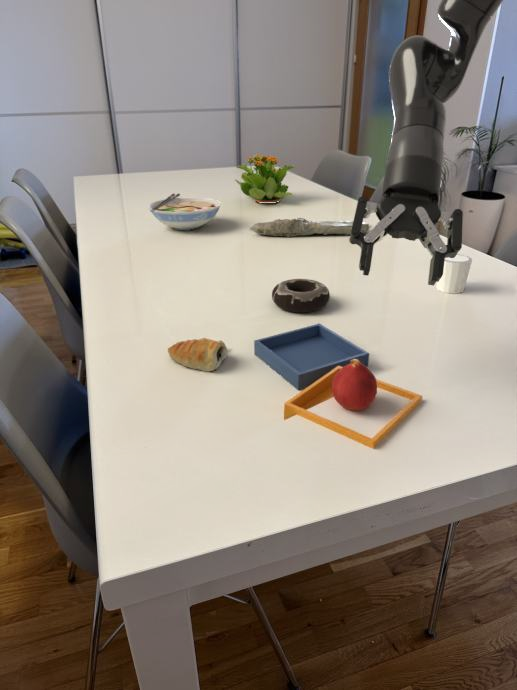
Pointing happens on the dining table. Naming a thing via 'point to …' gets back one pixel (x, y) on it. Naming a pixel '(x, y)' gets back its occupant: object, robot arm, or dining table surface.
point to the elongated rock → (305, 227)
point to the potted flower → (264, 180)
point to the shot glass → (454, 274)
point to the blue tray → (307, 354)
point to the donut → (300, 295)
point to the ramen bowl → (185, 211)
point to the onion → (354, 386)
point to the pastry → (199, 353)
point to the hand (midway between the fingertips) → (399, 278)
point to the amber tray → (323, 392)
